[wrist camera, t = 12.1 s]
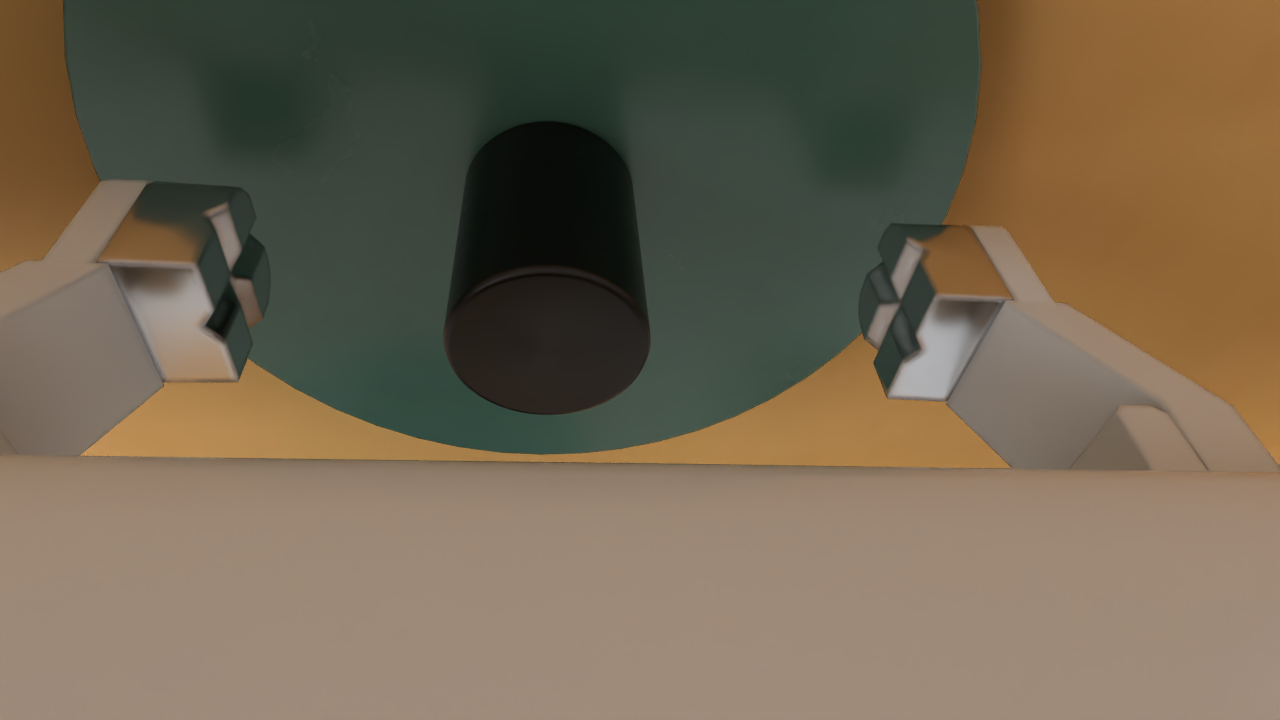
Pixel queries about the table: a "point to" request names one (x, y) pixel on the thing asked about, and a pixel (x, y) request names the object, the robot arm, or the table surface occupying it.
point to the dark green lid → (544, 190)
